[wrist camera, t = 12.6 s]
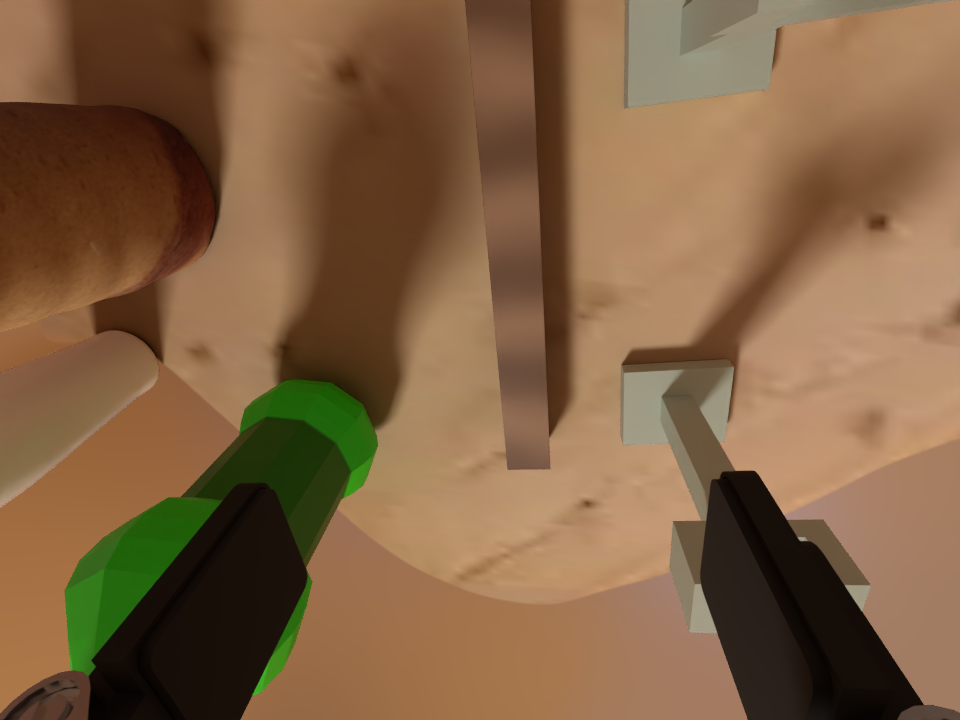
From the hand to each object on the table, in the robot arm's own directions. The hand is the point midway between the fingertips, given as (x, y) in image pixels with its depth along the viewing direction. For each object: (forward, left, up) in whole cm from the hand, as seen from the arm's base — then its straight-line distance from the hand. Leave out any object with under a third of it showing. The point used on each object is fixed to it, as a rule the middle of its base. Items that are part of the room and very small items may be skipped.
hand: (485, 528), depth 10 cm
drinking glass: (+5, -31, -23) cm, 39 cm away
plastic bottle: (+11, -16, -23) cm, 30 cm away
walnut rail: (0, 0, -23) cm, 23 cm away
